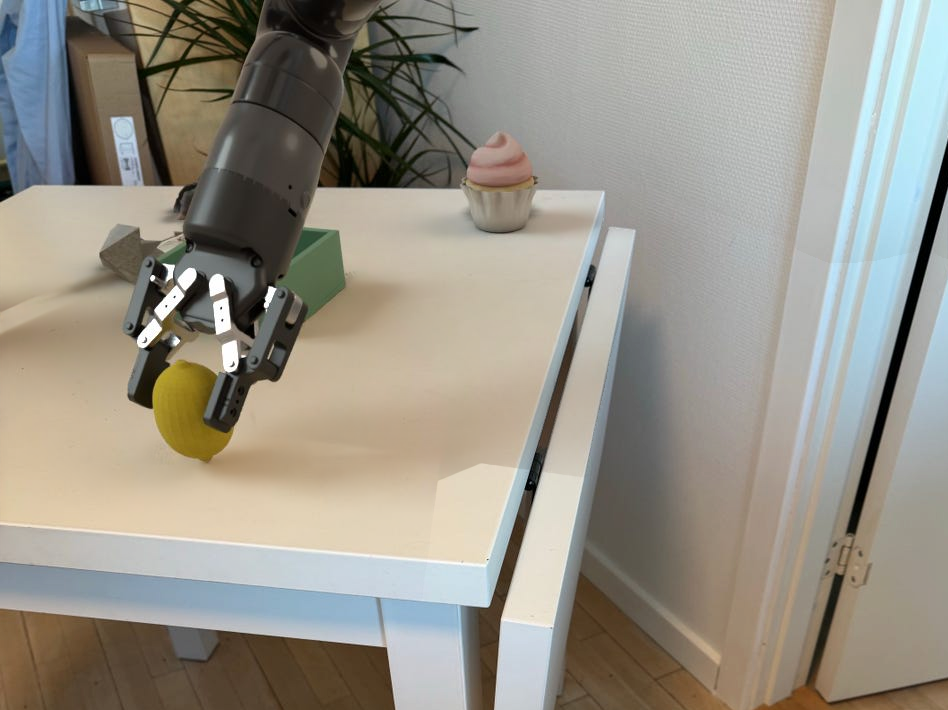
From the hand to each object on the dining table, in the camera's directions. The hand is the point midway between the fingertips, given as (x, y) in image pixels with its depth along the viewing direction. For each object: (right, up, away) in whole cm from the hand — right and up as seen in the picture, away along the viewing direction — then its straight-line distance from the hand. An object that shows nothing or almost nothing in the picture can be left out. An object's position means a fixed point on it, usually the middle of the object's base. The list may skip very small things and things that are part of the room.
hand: (177, 416), depth 64 cm
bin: (-1, +18, +26) cm, 32 cm away
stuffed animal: (-10, +35, +46) cm, 59 cm away
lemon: (+1, -3, +4) cm, 5 cm away
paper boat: (-14, +22, +32) cm, 42 cm away
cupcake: (+24, +33, +43) cm, 59 cm away
